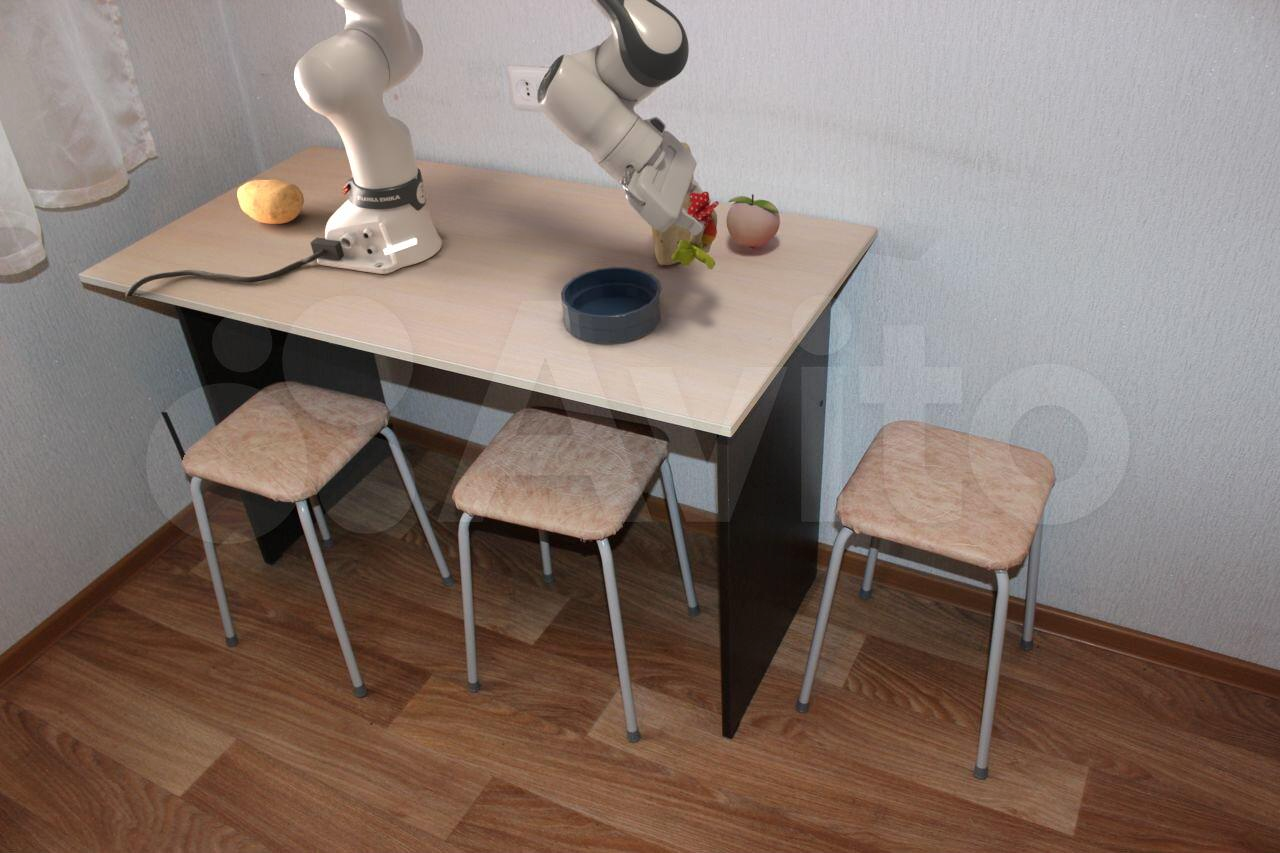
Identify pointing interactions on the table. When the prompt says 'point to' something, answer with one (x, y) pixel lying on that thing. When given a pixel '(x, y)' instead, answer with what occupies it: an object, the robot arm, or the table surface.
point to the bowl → (612, 304)
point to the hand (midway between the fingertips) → (704, 218)
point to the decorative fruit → (752, 221)
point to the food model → (671, 235)
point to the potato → (270, 201)
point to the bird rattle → (704, 239)
